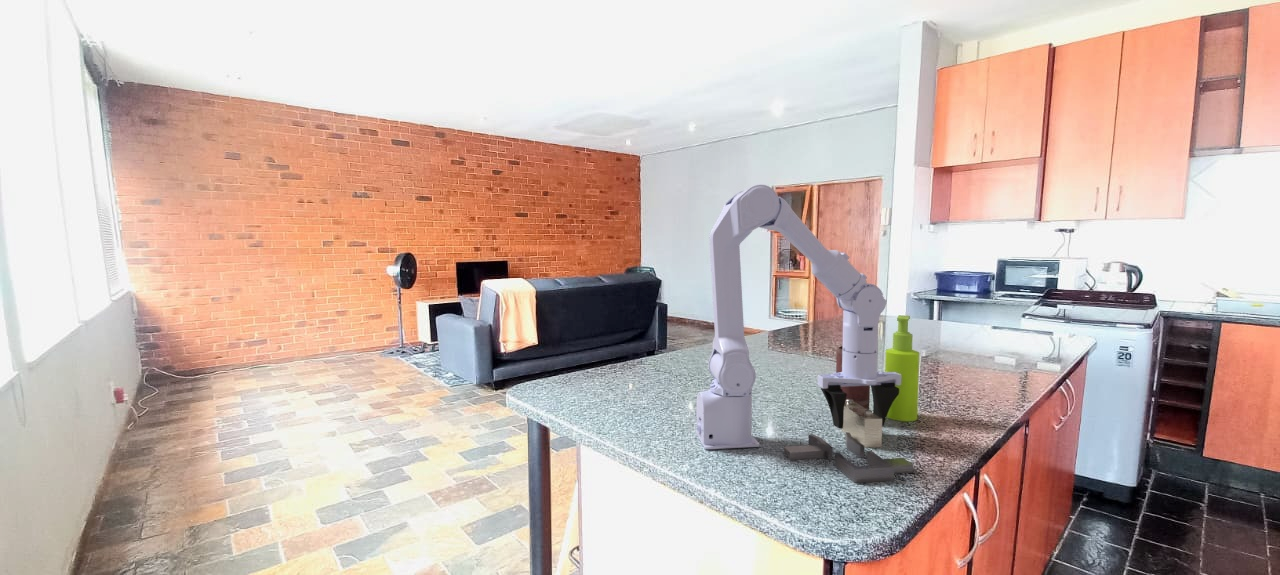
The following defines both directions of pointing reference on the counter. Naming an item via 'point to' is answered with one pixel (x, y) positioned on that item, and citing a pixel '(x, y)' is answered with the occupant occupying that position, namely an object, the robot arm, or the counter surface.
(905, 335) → the soap dispenser
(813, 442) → the grey linked bars
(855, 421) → the studded metal block
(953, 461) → the counter surface
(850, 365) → the robot arm
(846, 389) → the can
